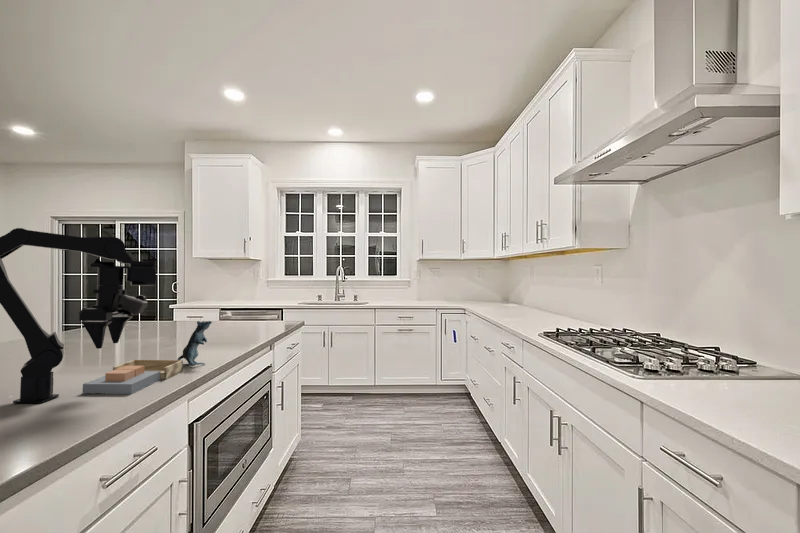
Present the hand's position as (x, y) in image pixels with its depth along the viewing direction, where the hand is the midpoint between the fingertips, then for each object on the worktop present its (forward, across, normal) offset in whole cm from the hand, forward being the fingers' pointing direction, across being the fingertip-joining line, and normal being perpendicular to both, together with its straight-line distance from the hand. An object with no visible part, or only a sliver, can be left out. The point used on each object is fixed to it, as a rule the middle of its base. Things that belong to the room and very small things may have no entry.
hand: (107, 345), depth 117 cm
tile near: (+10, +5, -2) cm, 11 cm away
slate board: (+12, +7, -2) cm, 14 cm away
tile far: (+10, +10, -2) cm, 14 cm away
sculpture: (+12, +37, -12) cm, 41 cm away
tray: (+12, +21, -3) cm, 24 cm away
